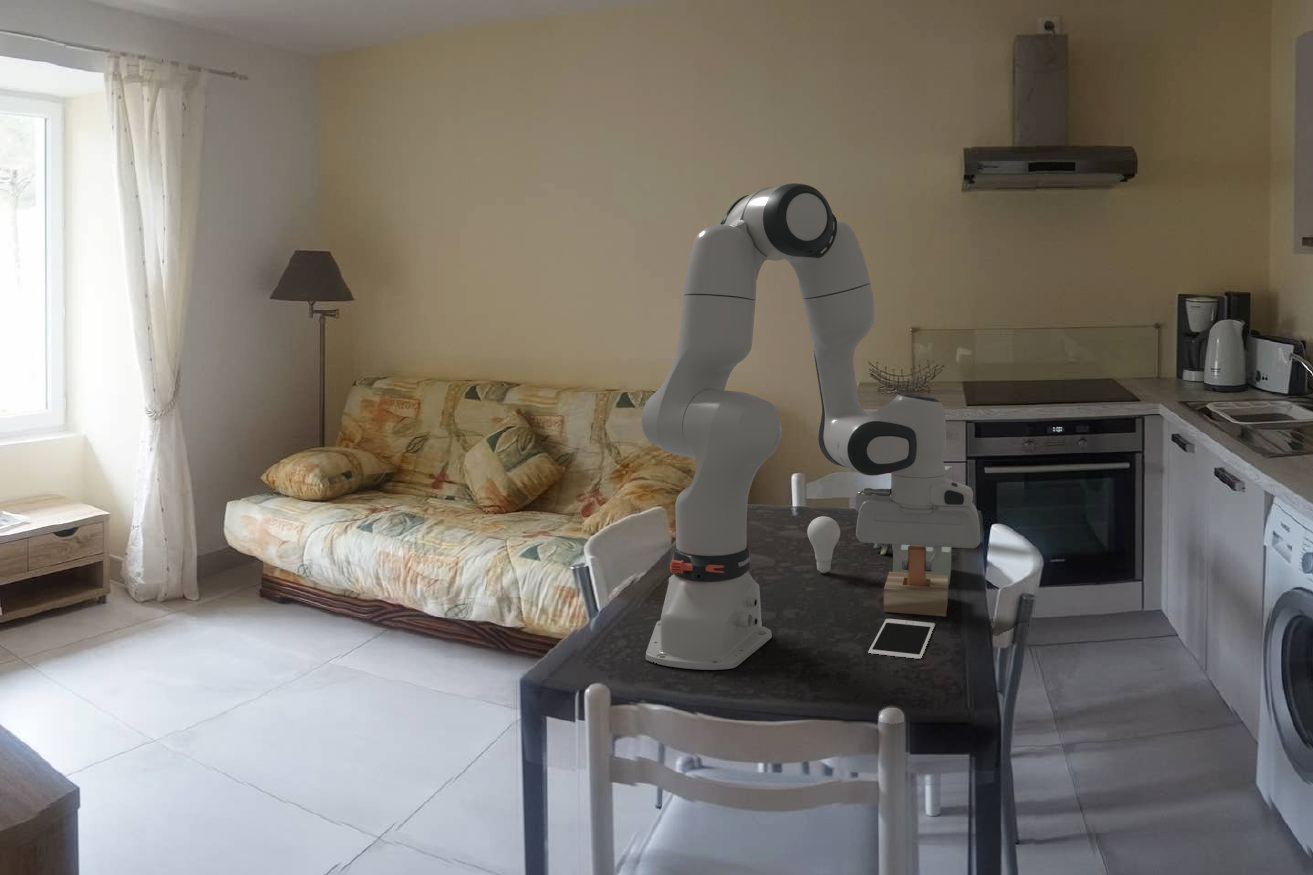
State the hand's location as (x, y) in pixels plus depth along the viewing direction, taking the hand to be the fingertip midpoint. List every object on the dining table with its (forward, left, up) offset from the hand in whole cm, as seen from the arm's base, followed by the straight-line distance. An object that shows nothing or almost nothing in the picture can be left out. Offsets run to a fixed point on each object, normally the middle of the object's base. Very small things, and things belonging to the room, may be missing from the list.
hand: (916, 569), depth 168 cm
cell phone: (-17, +1, -7) cm, 18 cm away
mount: (0, 0, -6) cm, 6 cm away
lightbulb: (+15, +18, -6) cm, 24 cm away
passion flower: (+34, +6, -6) cm, 35 cm away
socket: (+18, 0, -6) cm, 19 cm away
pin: (0, 0, -6) cm, 6 cm away
